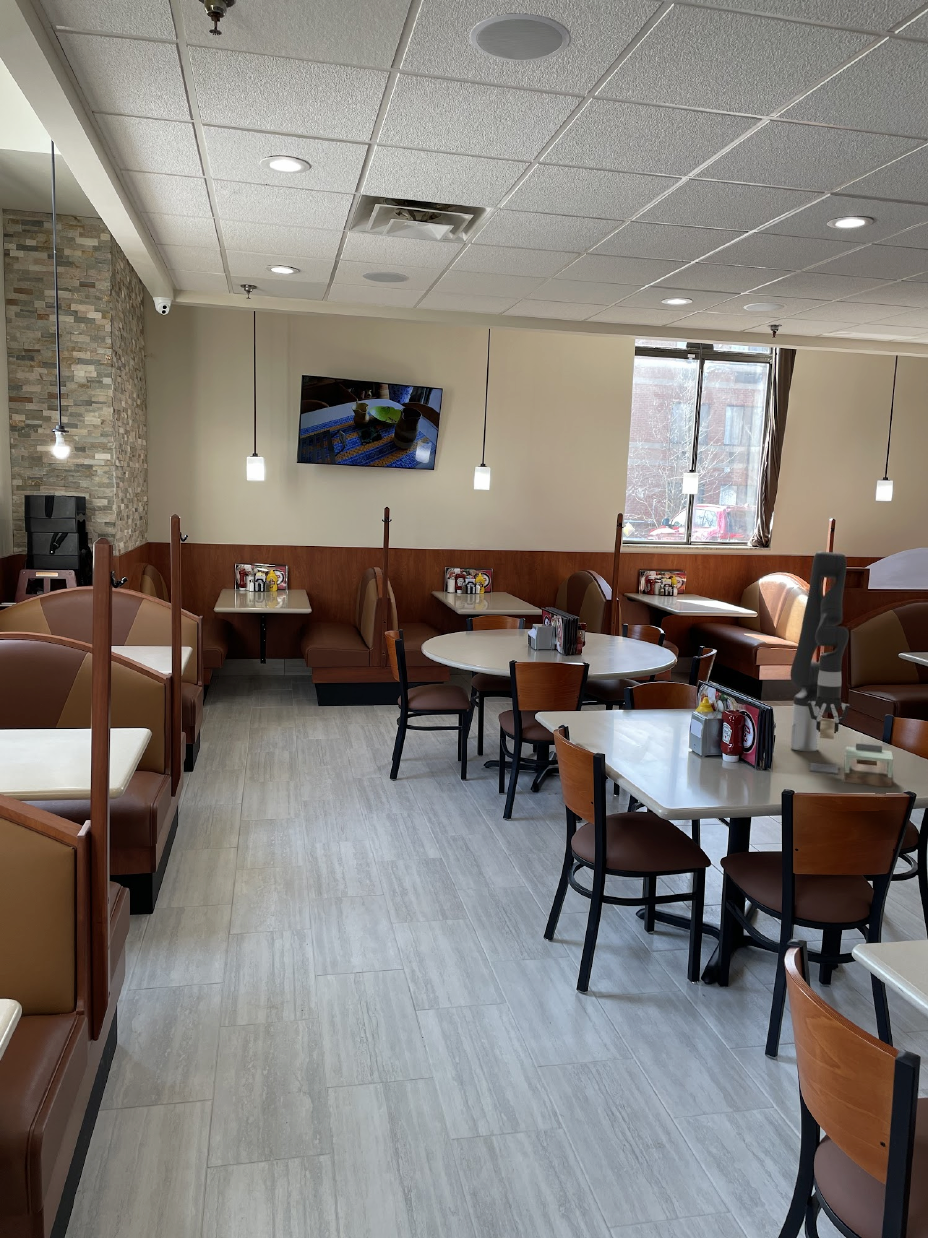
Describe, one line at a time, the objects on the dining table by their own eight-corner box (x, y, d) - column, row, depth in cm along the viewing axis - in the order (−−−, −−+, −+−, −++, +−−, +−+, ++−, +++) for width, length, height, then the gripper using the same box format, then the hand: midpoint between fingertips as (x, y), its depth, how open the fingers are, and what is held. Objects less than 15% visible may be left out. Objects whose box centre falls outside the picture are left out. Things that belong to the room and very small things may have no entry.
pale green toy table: (845, 772, 298) (846, 748, 297) (845, 764, 308) (846, 740, 307) (891, 777, 292) (893, 753, 292) (890, 768, 303) (891, 745, 302)
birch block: (819, 738, 310) (820, 720, 310) (820, 735, 315) (820, 718, 314) (833, 739, 309) (834, 722, 308) (833, 736, 313) (834, 719, 312)
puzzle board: (844, 782, 299) (845, 773, 298) (844, 762, 322) (844, 754, 321) (891, 787, 293) (891, 778, 293) (887, 767, 316) (887, 758, 316)
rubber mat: (809, 771, 311) (810, 769, 311) (810, 764, 319) (810, 762, 319) (838, 774, 307) (838, 772, 307) (838, 767, 316) (838, 765, 316)
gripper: (851, 683, 310) (849, 731, 312) (807, 680, 316) (805, 728, 318) (852, 687, 303) (849, 736, 305) (807, 684, 309) (804, 732, 311)
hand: (827, 732), depth 311 cm, fingers closed on birch block, 4 cm apart
